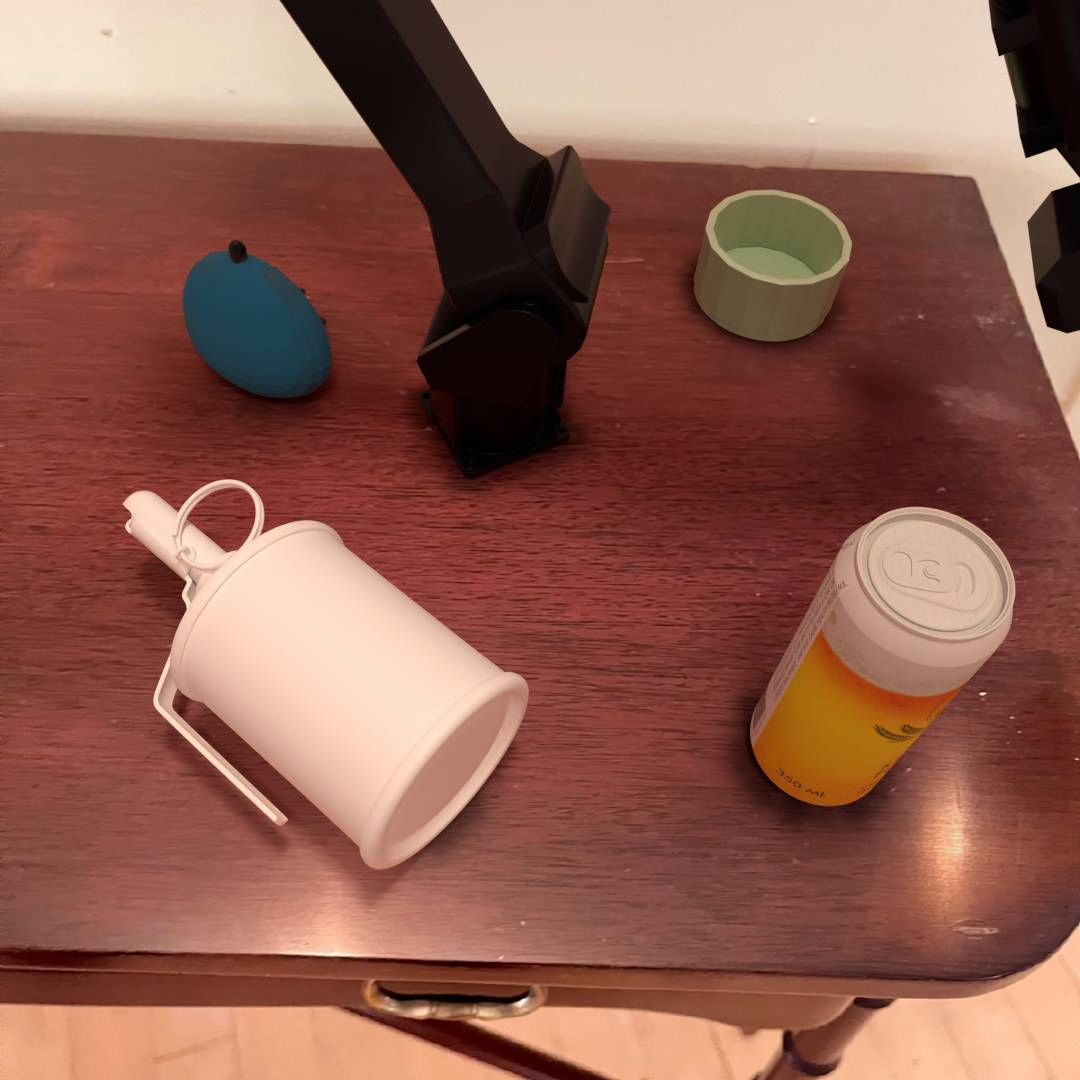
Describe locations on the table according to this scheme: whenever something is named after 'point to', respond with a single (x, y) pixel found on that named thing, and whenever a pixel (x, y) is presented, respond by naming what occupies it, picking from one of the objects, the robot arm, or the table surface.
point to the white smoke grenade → (329, 677)
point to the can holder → (770, 264)
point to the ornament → (255, 325)
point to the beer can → (881, 652)
